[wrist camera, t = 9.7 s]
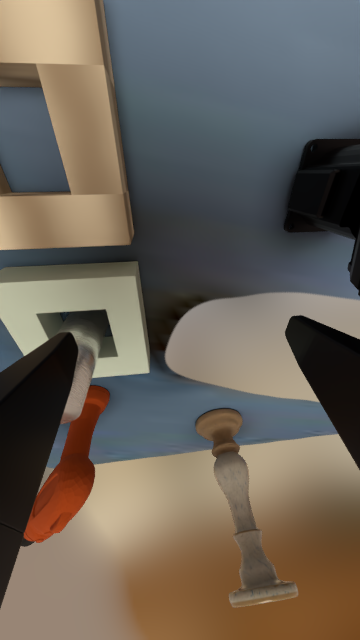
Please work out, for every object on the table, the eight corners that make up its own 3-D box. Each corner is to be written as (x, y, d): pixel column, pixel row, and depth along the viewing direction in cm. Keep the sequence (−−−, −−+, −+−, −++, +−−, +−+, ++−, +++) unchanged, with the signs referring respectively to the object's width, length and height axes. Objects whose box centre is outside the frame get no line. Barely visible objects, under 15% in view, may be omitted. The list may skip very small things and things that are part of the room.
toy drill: (31, 447, 35) (-30, 590, 22) (86, 376, 29) (49, 509, 17) (60, 453, 37) (20, 586, 24) (117, 387, 32) (104, 513, 19)
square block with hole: (137, 261, 20) (135, 276, 17) (150, 351, 27) (149, 372, 24) (5, 267, 19) (-22, 284, 16) (53, 359, 26) (41, 382, 23)
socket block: (103, 0, 11) (85, -58, 8) (134, 233, 18) (130, 244, 15) (-143, -12, 10) (-256, -82, 7) (-10, 238, 17) (-43, 251, 14)
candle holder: (241, 403, 36) (313, 594, 20) (240, 427, 41) (297, 595, 25) (192, 413, 36) (224, 610, 20) (197, 435, 42) (226, 607, 25)
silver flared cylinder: (105, 299, 22) (71, 387, 13) (112, 329, 24) (88, 421, 15) (65, 301, 21) (2, 393, 12) (77, 331, 24) (31, 427, 15)
